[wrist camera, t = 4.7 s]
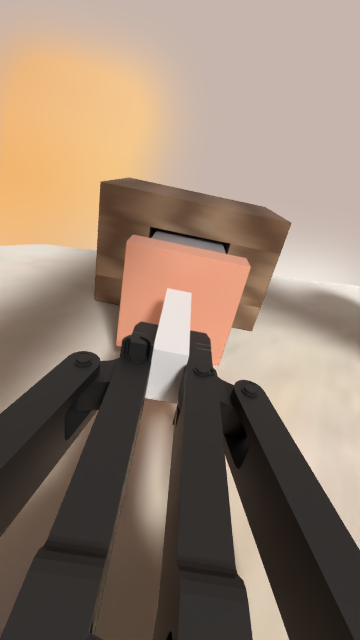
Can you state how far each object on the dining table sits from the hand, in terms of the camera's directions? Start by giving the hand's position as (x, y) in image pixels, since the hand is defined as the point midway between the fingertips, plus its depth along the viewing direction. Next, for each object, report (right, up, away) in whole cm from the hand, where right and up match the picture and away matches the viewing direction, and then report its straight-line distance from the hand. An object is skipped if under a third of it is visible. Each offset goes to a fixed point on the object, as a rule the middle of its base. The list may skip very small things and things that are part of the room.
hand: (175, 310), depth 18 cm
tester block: (0, +3, +19) cm, 20 cm away
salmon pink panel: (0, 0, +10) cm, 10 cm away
